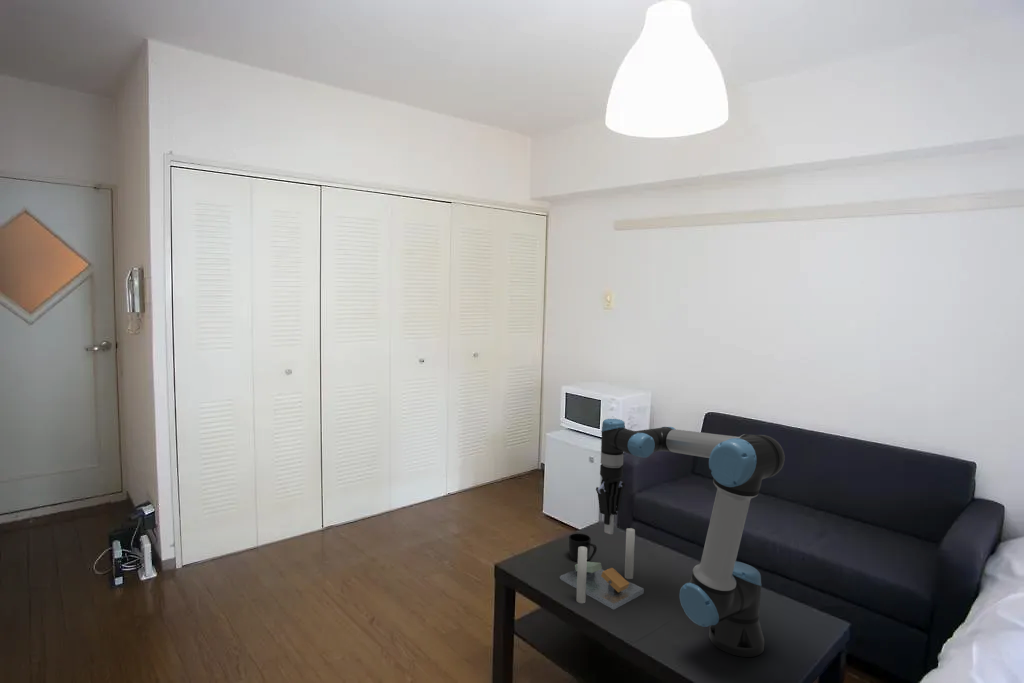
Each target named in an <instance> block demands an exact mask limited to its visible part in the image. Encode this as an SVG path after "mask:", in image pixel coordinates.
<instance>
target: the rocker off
mask: <svg viewBox="0 0 1024 683" xmlns="http://www.w3.org/2000/svg"><path fill="white" fill-rule="evenodd" d="M604 570H605V571H603V572H602V575H601V577H603V578H604V579H605V580H606V581H607V582H608V583H609V584H610V585H611V586H612V587H613V588H614V589H615V590H616V591H617V592H618V593H619V592H621V591H623V590H625V589H627V588H628V586H629V584H630V583H629V582H630V581H629V582H628V580H627V579H626V578H625V577H623V576H622V575H621V574H620V572H618V571H617V570H616V569H614V568H613V567H609V568H607V569H604Z"/></svg>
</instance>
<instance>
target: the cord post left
mask: <svg viewBox="0 0 1024 683" xmlns="http://www.w3.org/2000/svg"><path fill="white" fill-rule="evenodd" d="M587 560H588V559H587V547H584V546H580V547H578V562H577V564H578V567H577V589H576V597H575V598H576V602H577V603H579V604H585V603H586V600H587V599H586V597H587V594H586V573H587Z"/></svg>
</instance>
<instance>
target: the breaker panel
mask: <svg viewBox="0 0 1024 683" xmlns="http://www.w3.org/2000/svg"><path fill="white" fill-rule="evenodd" d="M605 570H606V569H603V568H602V569H600V570H598V571H596V572H593V573H590V572H587V573H586V596H589V597H590V598H592V599H594V600H595V601H598V602H599V603H601V604H602V605H604V606H606V607H607V608H609V609H612V610H616V609H618V608H619V607H621V606H624V605H625V604H627V603H629V602H631V601H632V600H635V599H636V598H638V597H640V596H642V595H643V594H645V593H644V591H645V588H644V587H641V586H639V585H637V584H635V583H633V582H631V581H628V580H627V581H628V582H629V583H630V584H629V586H628V588H627V589H625V590H623V591H621V592H619V593H618V592H617V591H616V590H615V589H614V588H613V587H612V586H611V585H610V584H609V583H608V582H607V581H606V580H605V579H604V578H603V577H601V575H602V572H603V571H605ZM559 580H560V581H562V582H563V583H566V584H567V585H569V586H571V587H573V588H575V589H576V590H577V571H576V569H573V570H571V571H568V572H566V573H564V574H561V575H559Z"/></svg>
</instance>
